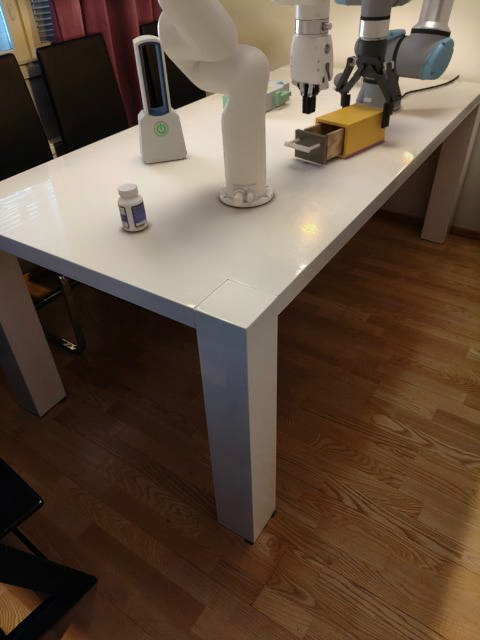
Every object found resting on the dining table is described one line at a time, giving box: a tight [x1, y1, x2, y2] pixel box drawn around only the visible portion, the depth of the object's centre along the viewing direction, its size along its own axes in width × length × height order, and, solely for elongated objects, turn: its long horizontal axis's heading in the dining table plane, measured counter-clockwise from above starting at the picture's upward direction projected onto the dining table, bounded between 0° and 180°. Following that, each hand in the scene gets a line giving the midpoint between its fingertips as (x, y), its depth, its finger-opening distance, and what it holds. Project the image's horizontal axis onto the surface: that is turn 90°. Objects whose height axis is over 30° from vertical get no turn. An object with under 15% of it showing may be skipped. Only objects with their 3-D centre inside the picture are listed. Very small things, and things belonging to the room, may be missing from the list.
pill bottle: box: [117, 182, 148, 232], centre depth 102 cm, size 5×5×9 cm
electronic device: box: [132, 34, 188, 165], centre depth 130 cm, size 12×8×30 cm, turn 105°
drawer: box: [283, 122, 345, 165], centre depth 130 cm, size 22×10×7 cm, turn 134°
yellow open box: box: [314, 102, 386, 160], centre depth 136 cm, size 18×11×9 cm, turn 134°
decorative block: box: [221, 80, 292, 113], centre depth 175 cm, size 26×6×20 cm
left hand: (308, 112), depth 121 cm, fingers closed
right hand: (364, 123), depth 139 cm, fingers open, 13 cm apart
